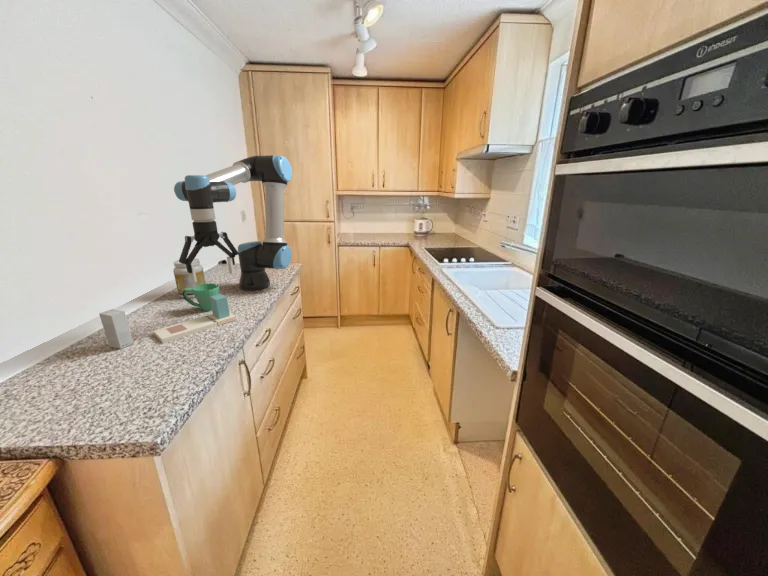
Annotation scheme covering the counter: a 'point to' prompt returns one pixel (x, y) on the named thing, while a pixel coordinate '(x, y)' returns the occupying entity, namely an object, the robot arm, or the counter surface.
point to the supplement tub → (188, 277)
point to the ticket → (184, 328)
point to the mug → (202, 295)
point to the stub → (220, 310)
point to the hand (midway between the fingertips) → (213, 277)
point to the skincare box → (116, 328)
